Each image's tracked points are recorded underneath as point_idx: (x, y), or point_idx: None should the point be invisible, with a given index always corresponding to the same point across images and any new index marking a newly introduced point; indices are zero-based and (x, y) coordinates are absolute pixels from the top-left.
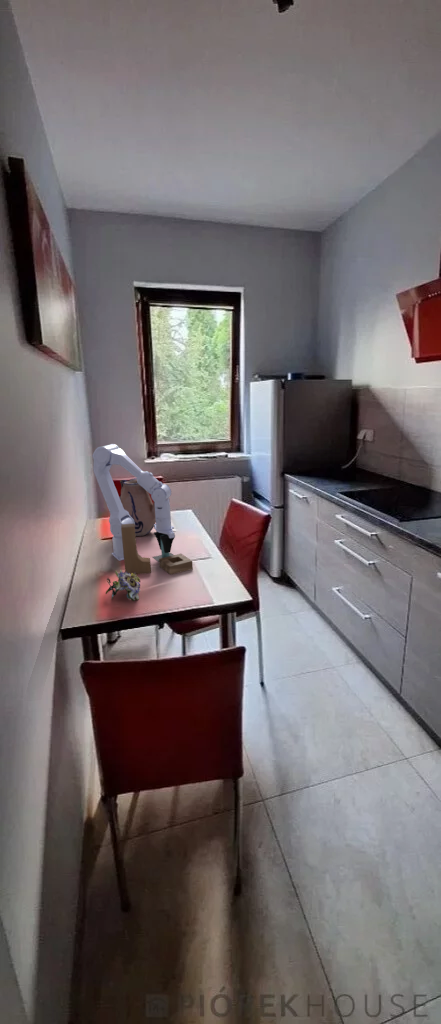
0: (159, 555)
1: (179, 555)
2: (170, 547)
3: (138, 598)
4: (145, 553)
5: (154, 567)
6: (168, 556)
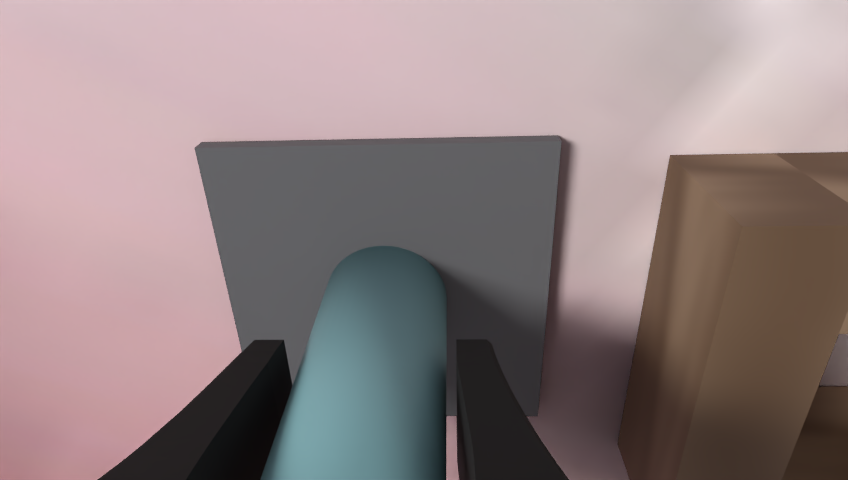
0: (241, 328)
1: (812, 296)
2: (512, 409)
3: None
4: (55, 407)
5: (567, 476)
6: (682, 445)
